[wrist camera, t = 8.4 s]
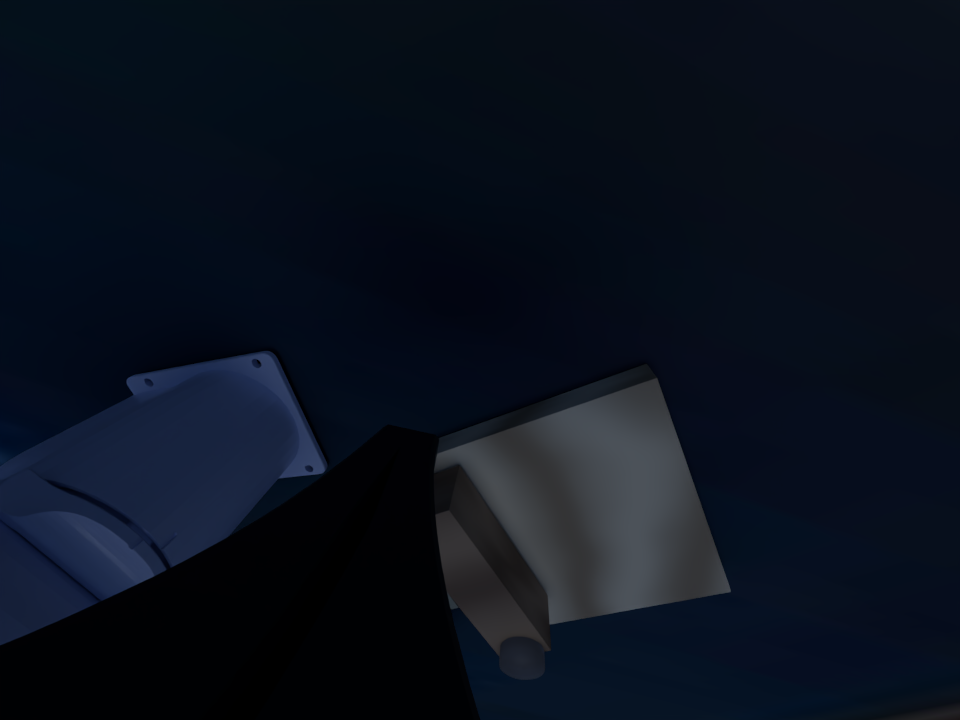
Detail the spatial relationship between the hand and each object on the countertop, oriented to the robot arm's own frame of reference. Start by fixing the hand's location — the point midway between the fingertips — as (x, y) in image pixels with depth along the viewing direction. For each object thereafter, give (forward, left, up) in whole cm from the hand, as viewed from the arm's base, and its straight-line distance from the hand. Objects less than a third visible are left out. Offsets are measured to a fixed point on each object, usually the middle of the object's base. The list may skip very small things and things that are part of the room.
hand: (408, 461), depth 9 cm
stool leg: (-1, -13, -8) cm, 15 cm away
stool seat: (+3, -12, -9) cm, 16 cm away
